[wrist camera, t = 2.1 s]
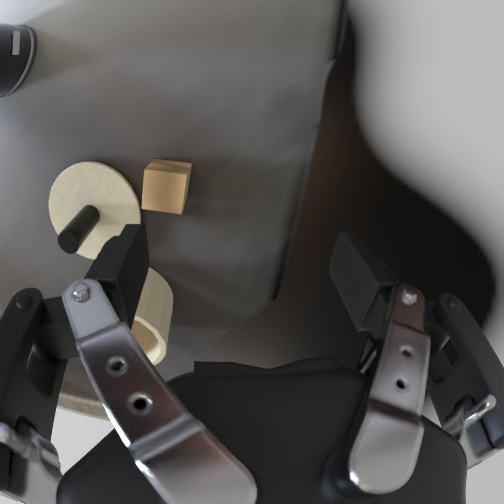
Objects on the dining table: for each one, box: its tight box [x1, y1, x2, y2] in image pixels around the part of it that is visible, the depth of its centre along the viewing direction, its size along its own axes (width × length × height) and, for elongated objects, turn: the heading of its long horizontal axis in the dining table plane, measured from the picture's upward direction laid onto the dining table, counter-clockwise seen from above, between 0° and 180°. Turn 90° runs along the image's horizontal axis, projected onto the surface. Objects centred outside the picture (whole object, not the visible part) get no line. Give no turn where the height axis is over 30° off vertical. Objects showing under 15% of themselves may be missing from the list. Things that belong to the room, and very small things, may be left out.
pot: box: [131, 267, 173, 365], centre depth 32 cm, size 11×17×8 cm
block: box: [142, 159, 192, 214], centre depth 25 cm, size 4×4×4 cm
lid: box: [49, 161, 141, 260], centre depth 25 cm, size 12×12×7 cm
